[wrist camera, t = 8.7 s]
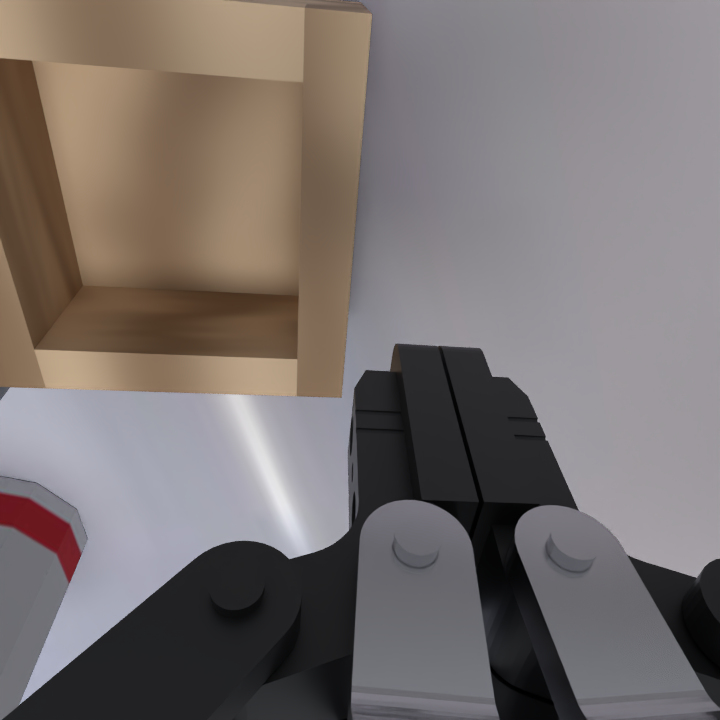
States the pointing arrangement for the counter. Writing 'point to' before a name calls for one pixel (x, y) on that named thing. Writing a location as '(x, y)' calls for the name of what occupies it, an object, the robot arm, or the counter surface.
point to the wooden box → (179, 193)
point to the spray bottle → (31, 577)
